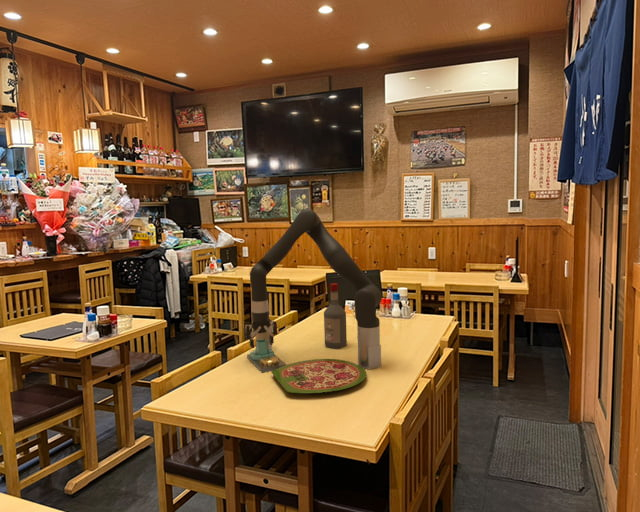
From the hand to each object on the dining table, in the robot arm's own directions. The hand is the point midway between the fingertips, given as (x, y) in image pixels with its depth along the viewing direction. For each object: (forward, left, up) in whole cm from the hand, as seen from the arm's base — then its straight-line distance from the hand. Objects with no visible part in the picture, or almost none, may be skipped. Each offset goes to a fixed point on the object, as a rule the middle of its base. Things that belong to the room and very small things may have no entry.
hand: (261, 346), depth 209 cm
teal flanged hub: (0, 0, -5) cm, 5 cm away
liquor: (+1, -37, -6) cm, 38 cm away
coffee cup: (+12, -5, -6) cm, 14 cm away
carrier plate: (-5, 0, -6) cm, 8 cm away
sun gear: (-10, 0, -5) cm, 11 cm away
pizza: (-34, -13, -7) cm, 37 cm away
